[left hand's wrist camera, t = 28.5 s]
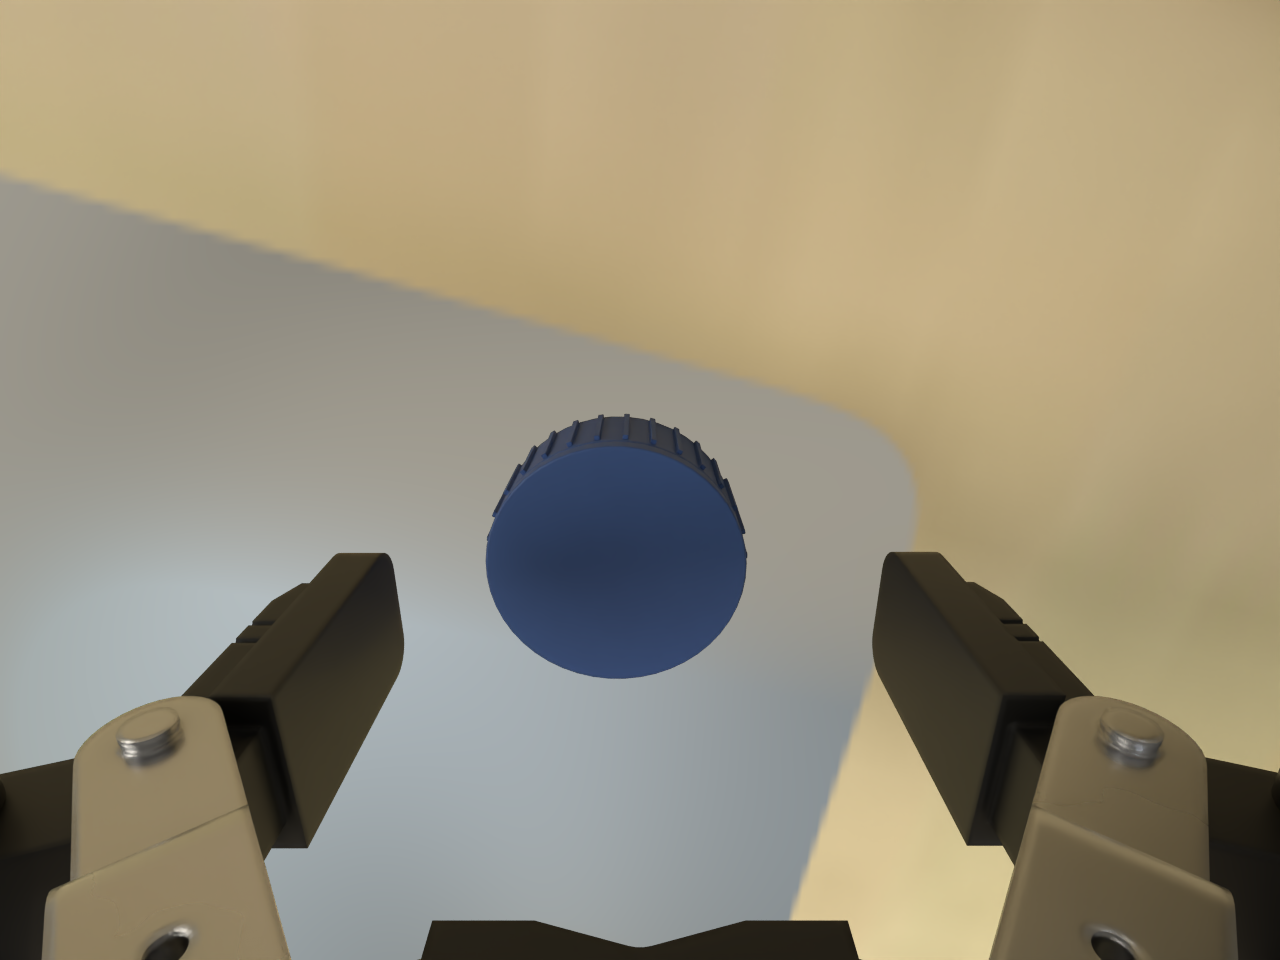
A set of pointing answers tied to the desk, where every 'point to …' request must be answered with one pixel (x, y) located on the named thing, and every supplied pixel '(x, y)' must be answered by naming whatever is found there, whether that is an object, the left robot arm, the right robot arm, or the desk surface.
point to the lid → (617, 549)
